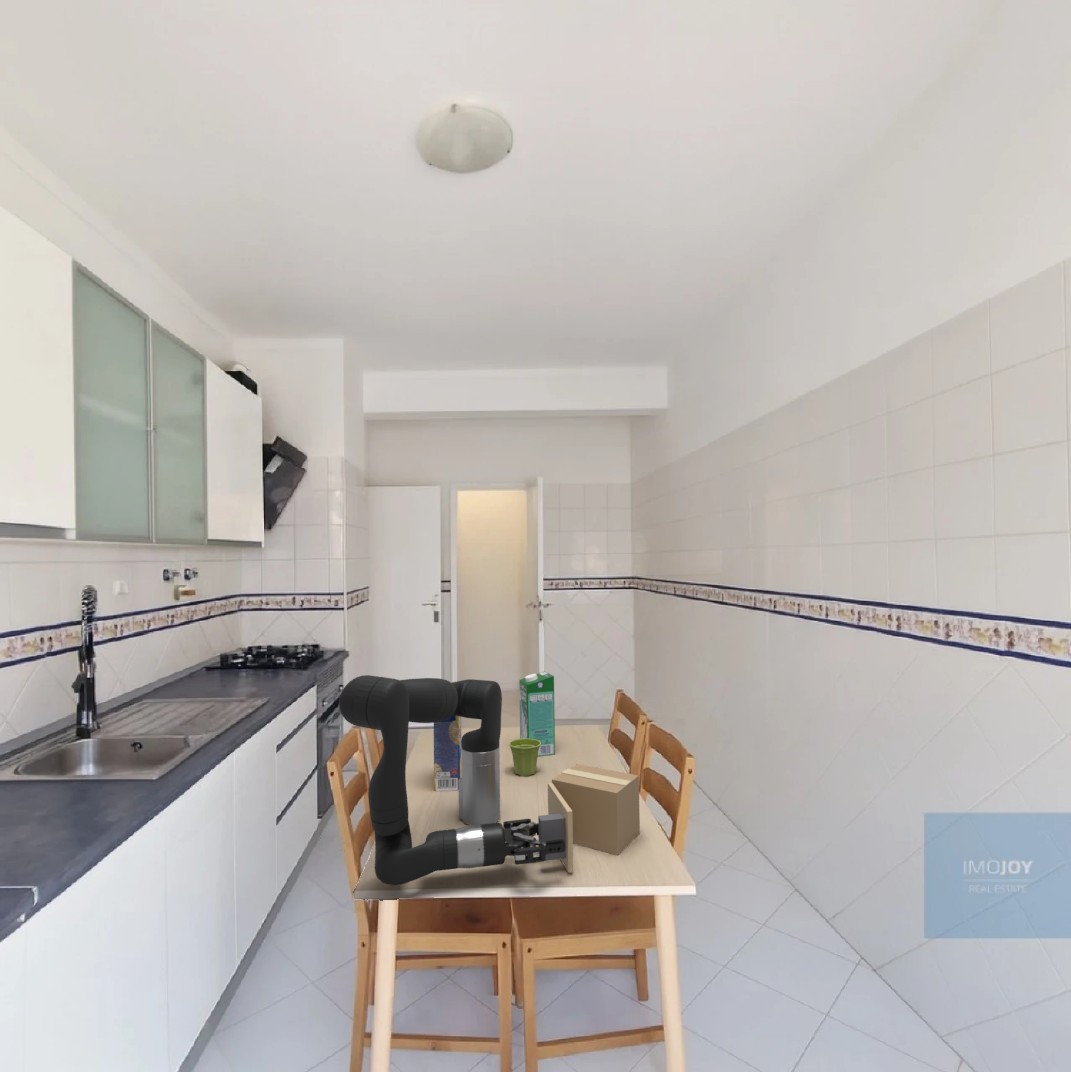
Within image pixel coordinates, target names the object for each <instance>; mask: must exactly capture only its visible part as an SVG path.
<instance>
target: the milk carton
mask: <svg viewBox="0 0 1071 1072" xmlns="http://www.w3.org/2000/svg"><path fill="white" fill-rule="evenodd" d="M518 684H519V739H536V740H539V741H540V742H541V745H540V747H539V750H538V757H544V756H545V757H546V756H552V755H556V740H555V739H556V735H555V734H556V733H555V732H556V731H555V730H556V729H555V728H556V727H555V726H556V725H555V721H556V719H555V676H554V675H553V674H552V673H551V674H550V672H548V671H545V670H544V671H541V672H538V673H531V674H528V675H526V676H525V677H524V678H521V679H519V683H518Z"/></svg>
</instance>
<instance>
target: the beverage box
mask: <svg viewBox="0 0 1071 1072" xmlns="http://www.w3.org/2000/svg"><path fill="white" fill-rule="evenodd" d="M461 740H462V717H460V716H455V715H452V716H451V717H450V718H448V719H447V720H444V721H441V722H435V723H433V791H434V792H447V791H449V792H452V791H459V790H458V780H459V779H460V778H461V777H462V747H461Z"/></svg>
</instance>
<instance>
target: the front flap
mask: <svg viewBox="0 0 1071 1072" xmlns="http://www.w3.org/2000/svg"><path fill="white" fill-rule="evenodd" d="M537 817H538V819H537V820H538V821H537V823H538V829H539V835H538V840H539V841H544V842H546V841H551V840H559V839H563V840H564V842H565V851H564V852H560V853H552V854H546V857H545V861H544V862H547V861H548V862H550V861H554V860H555V861H556V860H561V862H562V864H563V866H564V867H565V869H566V871H567V873H574V843H573V821H572V810H571V809H570V807H569V806H568V804H567V803H566V801H565V800H564V799H563V797H562V796H561V794H560V793H559V792H558V790H557V789H556V787H555V786H554V785H553V783H552V782H547V814H544V815H543V814H542V815H538V816H537Z"/></svg>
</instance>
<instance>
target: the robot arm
mask: <svg viewBox="0 0 1071 1072" xmlns="http://www.w3.org/2000/svg"><path fill="white" fill-rule="evenodd" d="M502 706H503V696H502V689H501V686H500V684H499V683H498V682H497V681H495V680H485V679H470V678H469V679H462V680H457V681H453V682H451V681H449V680H447V679H443V678H436V677H435V678H433V677H424V678H421V677H420V678H409V679H407V678H406V679H396V678H391V677H384V676H378V675H377V676H375V675H369V674H365V675H360V676H357V677H355V678H353V679H351V680H350V681H349V682H348V683H346V685H345V686H344V687H343V688H342V691H341V693H340V696H339V699H338V707H339V710H340V714H341V716H342V718H343V719H344V720H345V721H346V722H347V723H349V724H351V725H353V726H355V727H359V728H364V729H372V730H377V731H380V733H381V736H382V742H383V749H382V750H383V751H382V755H381V757H380V759H379V763H377V766H376V767H375V769H374V771H373V773H372V776H371V778H370V781H369V784H368V785H369V786H368V792H367V797H368V806H369V808H368V809H369V815H370V816H369V817H370V823H371V827H372V829H373V831H374V845H375V846H374V847H375V850H374V851H375V852H374V872H375V873H374V874H375V876H376V878H377V879H378V880H379V881H380V882H381V883H382V884H385V885H389V886H399V885H400V886H401V885H404V884H408V883H411V882H413V881H414V880H418V879H421V878H423V877H426V876H428V875H430V874H432V873H434V872H439V871H447V870H448V871H449V870H455V869H475V868H483V867H484V868H485V867H491V866H499V865H503V864H504V863H505V861H506V858H507V856H508V857H509V856H510V857H514V864H515V865H524V864H525V865H526V864H533V863H544V862H546V861H545V857H546V854H552V853H560V852H564V851H565V842H564V840H563V839H559V840H551V841H546V842H544V841H539V839H537V838H536V837H535V836H538V837H539V829H538V822H537V823H536V822H535V821H532V819H531V818H524V819H523V818H521V819H513V820H507V821H503V822H502V823H501V822H499V820H500V819H501V770H500V769H501V768H500V764H501V763H500V757H501V756H500V755H501V754H500V739H501V732H502V731H501V730H502V710H503V709H502V708H503V707H502ZM452 715H455V716H460V717H461V718H464V719H472V720H473V719H475V720H481V721H480V728H477V729H474V730H470V731H468V732H465V733H464V734H463V735H461V762H462V777H461V778H460V779H459V780H458V790H457V791H458V819H459V820H461V821H462V822H463V823H464V824H466V825H465V826H461V827H458V828H451V829H448V828H447V829H443V830H434V831H431V832H429V833H428V834H427V836H426V838H425V840H424V842H423V843H421V844H419V845H417V846H413V839H412V833H411V827H410V821H409V803H408V793H407V783H406V782H407V780H406V779H407V777H406V774H407V773H406V765H407V753H408V752H407V751H408V740H409V739H408V738H409V725H410V724H409V723H418V724H420V723H421V724H432V723H433V724H434V723H435V722H441V721H444V720H447V719H448V718H450V717H451V716H452Z"/></svg>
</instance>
